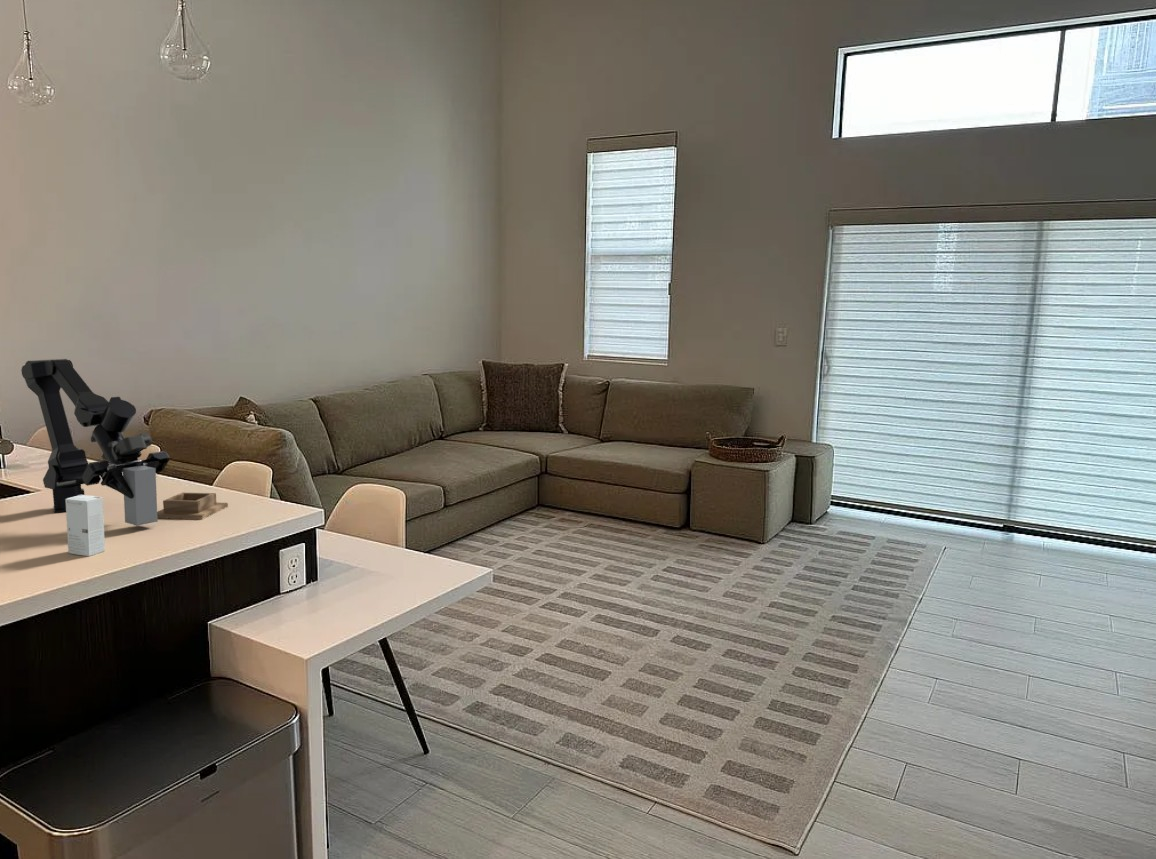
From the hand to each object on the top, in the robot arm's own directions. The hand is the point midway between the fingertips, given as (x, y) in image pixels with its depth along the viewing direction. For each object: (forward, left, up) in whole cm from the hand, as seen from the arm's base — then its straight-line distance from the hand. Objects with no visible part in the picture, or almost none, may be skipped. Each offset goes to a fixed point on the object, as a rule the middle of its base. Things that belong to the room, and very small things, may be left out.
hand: (143, 495), depth 191 cm
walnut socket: (+11, +11, -8) cm, 18 cm away
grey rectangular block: (-1, +1, -7) cm, 7 cm away
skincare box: (-13, -14, -8) cm, 20 cm away
